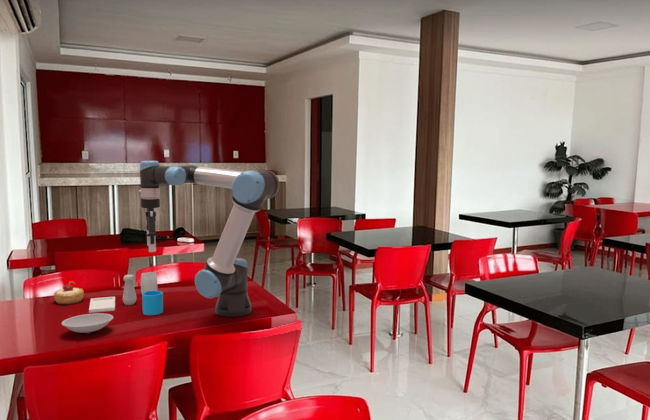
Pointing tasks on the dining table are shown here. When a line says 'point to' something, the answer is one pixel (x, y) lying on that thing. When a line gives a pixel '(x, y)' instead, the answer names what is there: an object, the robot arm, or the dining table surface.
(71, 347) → the dining table surface
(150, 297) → the mug
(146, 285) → the tea bag
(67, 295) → the pastry
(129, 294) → the salt shaker
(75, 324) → the dish
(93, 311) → the tray
